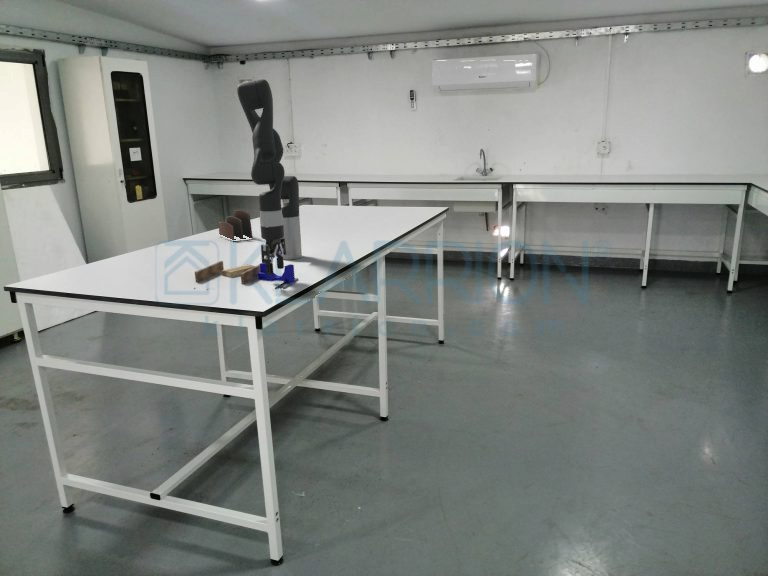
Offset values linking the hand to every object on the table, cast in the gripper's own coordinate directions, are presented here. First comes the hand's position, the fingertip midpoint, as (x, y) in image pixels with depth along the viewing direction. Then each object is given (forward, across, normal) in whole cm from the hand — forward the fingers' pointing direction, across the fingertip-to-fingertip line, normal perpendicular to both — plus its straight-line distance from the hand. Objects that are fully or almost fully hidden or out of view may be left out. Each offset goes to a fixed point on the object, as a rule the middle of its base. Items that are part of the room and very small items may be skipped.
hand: (275, 271), depth 188 cm
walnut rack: (+4, -1, -17) cm, 18 cm away
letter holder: (+5, -82, -59) cm, 101 cm away
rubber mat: (+4, 0, 0) cm, 4 cm away
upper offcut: (+3, -6, -17) cm, 19 cm away
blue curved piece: (+4, 0, 0) cm, 4 cm away
